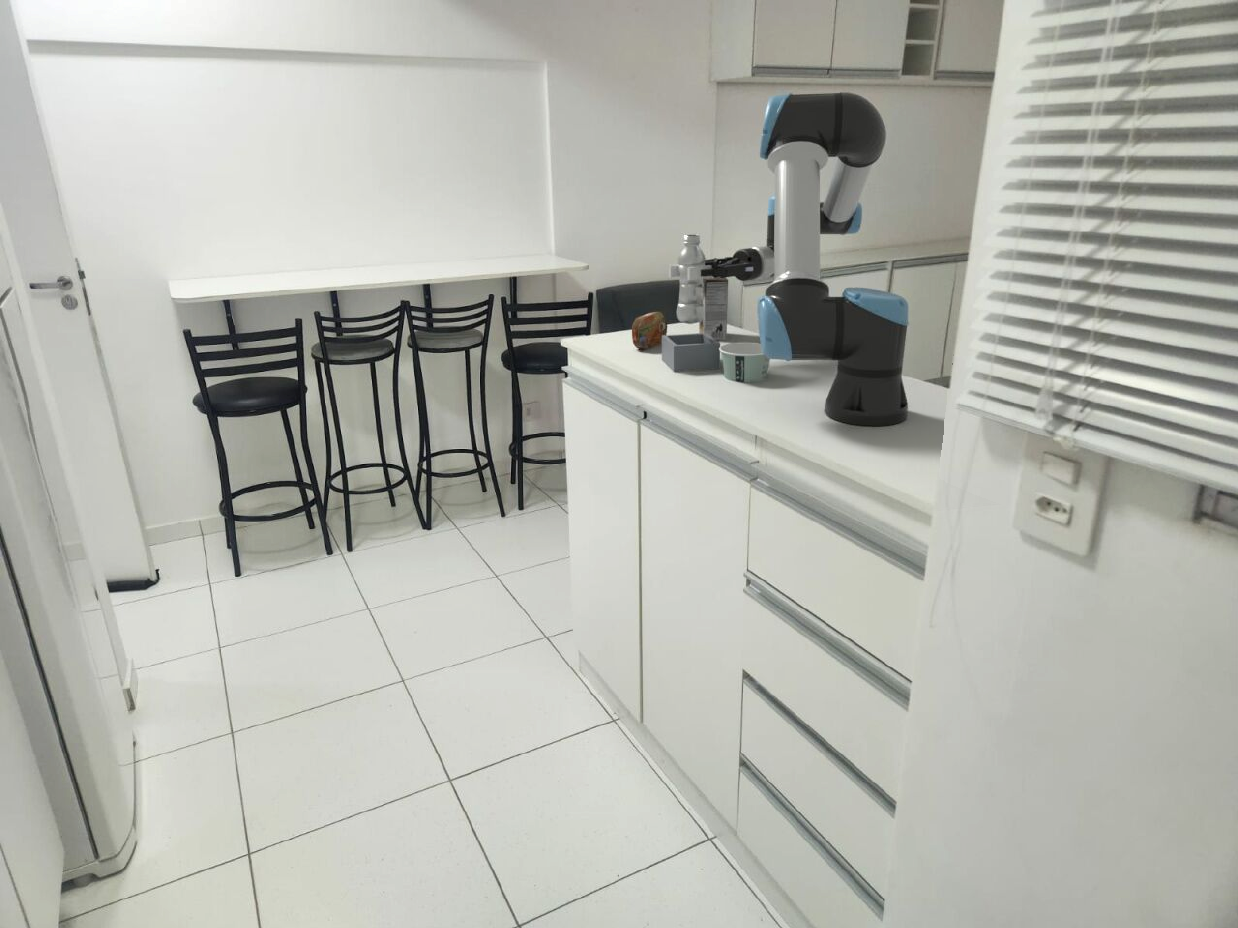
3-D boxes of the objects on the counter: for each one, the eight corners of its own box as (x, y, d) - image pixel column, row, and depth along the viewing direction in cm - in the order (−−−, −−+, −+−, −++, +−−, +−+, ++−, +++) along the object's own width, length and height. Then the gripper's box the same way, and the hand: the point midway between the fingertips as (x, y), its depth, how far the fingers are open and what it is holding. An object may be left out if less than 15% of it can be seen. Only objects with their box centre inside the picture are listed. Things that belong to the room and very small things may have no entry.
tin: (640, 352, 204) (639, 319, 201) (629, 351, 206) (629, 318, 203) (668, 340, 216) (668, 309, 213) (658, 339, 218) (658, 308, 215)
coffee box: (698, 333, 224) (699, 274, 218) (721, 332, 224) (722, 274, 218) (703, 340, 215) (704, 279, 210) (727, 339, 216) (728, 278, 210)
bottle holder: (719, 368, 187) (720, 343, 185) (673, 371, 185) (674, 346, 183) (705, 356, 198) (705, 332, 196) (661, 359, 196) (661, 335, 194)
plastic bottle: (670, 323, 189) (670, 235, 182) (690, 319, 193) (691, 233, 186) (690, 327, 184) (691, 237, 177) (710, 323, 188) (712, 235, 181)
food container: (771, 384, 174) (773, 355, 171) (716, 383, 176) (716, 353, 174) (772, 370, 185) (774, 342, 182) (720, 369, 187) (721, 341, 185)
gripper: (780, 283, 189) (706, 294, 176) (725, 275, 203) (653, 285, 191) (782, 250, 186) (707, 259, 174) (726, 245, 201) (653, 252, 188)
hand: (679, 272), depth 182 cm, fingers closed on plastic bottle, 6 cm apart
